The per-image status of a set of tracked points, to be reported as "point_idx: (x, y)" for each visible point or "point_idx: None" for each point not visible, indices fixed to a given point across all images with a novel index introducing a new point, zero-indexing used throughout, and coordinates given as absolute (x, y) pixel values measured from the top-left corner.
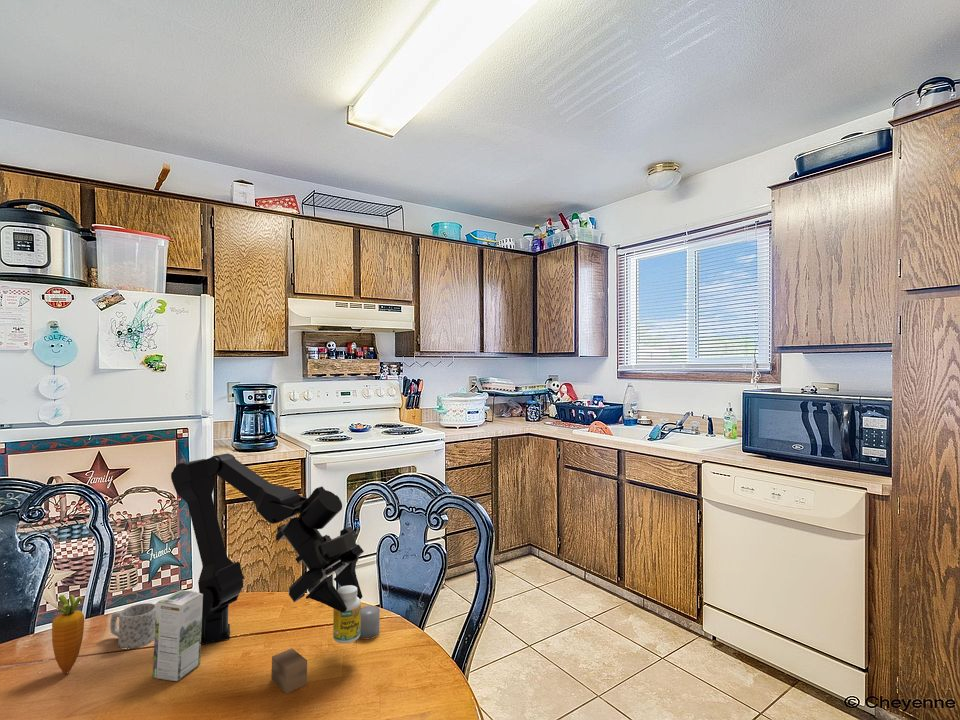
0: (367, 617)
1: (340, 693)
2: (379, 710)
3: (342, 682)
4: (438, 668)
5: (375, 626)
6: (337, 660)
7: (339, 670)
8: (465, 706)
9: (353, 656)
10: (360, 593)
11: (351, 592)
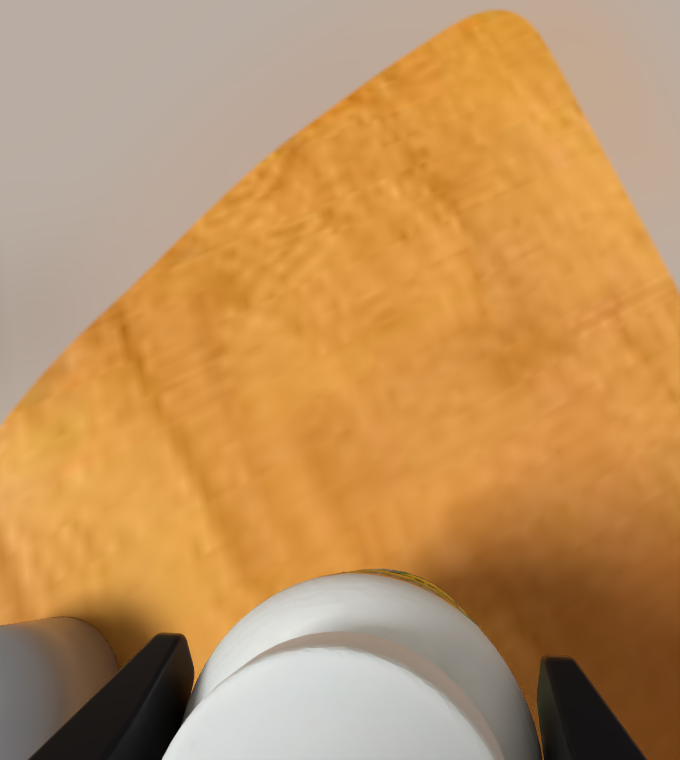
0: (36, 689)
1: (642, 529)
2: (668, 284)
3: (555, 572)
4: (293, 189)
5: (49, 630)
6: None
7: None
8: (497, 13)
9: None
10: (146, 668)
11: (430, 689)
